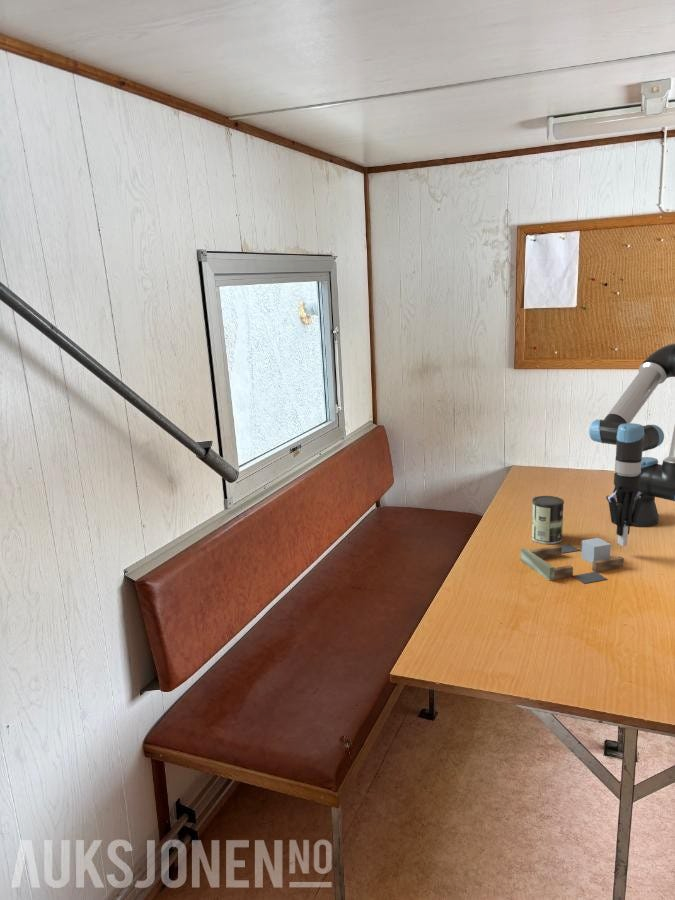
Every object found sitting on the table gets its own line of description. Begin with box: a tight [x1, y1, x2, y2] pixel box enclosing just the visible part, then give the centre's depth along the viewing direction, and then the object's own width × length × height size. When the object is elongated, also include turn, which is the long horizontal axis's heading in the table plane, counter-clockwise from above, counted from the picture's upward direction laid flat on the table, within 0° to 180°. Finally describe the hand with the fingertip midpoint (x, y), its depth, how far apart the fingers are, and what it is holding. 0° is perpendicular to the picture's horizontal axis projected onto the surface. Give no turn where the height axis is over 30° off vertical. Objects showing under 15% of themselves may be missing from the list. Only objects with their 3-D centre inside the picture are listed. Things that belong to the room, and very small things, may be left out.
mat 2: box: [572, 571, 608, 584], centre depth 200 cm, size 8×6×1 cm
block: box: [581, 537, 612, 565], centre depth 212 cm, size 6×6×6 cm
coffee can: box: [531, 495, 565, 545], centre depth 229 cm, size 10×10×14 cm
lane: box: [520, 541, 625, 581], centre depth 210 cm, size 26×16×4 cm, turn 106°
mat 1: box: [560, 543, 581, 554], centre depth 221 cm, size 8×6×1 cm
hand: (622, 544), depth 214 cm, fingers closed
